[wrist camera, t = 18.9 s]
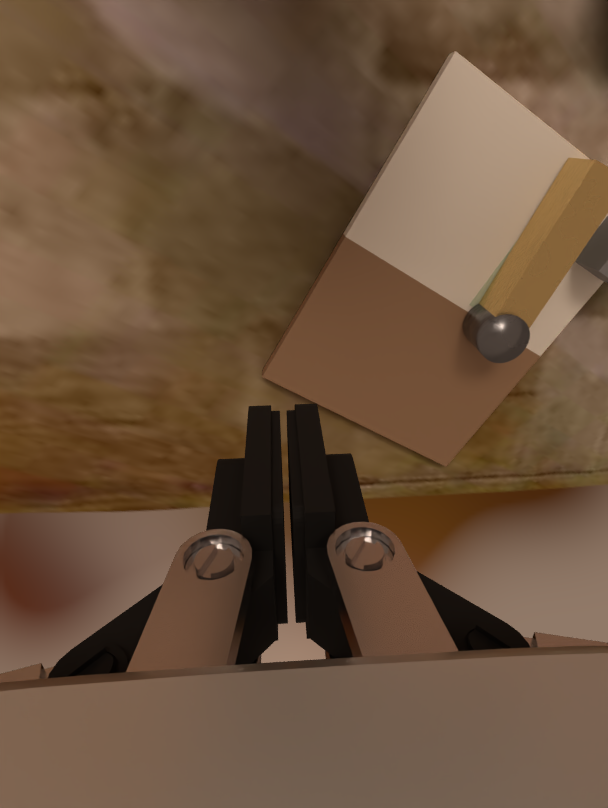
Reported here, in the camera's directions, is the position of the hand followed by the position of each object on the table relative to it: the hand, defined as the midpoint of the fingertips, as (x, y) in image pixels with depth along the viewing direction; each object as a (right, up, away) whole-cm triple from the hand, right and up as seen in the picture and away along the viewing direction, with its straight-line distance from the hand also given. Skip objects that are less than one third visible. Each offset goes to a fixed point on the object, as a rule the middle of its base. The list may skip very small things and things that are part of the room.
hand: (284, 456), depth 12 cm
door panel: (+11, +10, +26) cm, 30 cm away
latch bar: (+17, +12, +24) cm, 32 cm away
